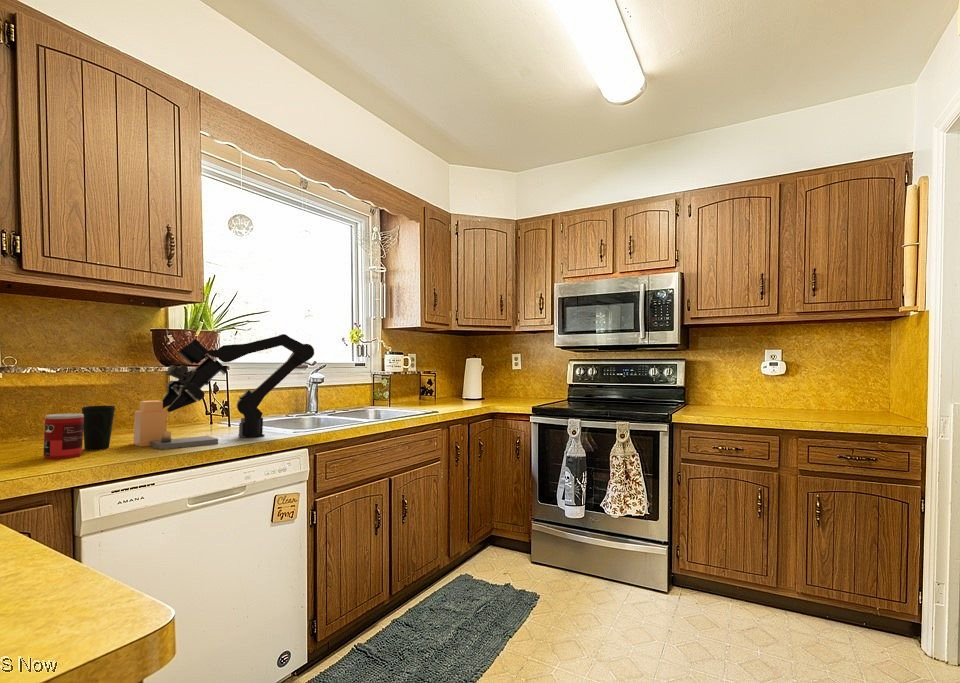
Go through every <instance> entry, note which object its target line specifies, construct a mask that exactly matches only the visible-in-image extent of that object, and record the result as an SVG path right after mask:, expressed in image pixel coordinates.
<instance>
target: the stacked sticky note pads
mask: <svg viewBox="0 0 960 683" xmlns="http://www.w3.org/2000/svg"><path fill="white" fill-rule="evenodd" d="M133 423H134V424H133V445H135V446H138V447H140V446H141V447H148V446H149V447H151V446H150V441H154V440H161V438H162V432H163V431H168V430H167V429H168V428H167V427H168V426H167V425H168V411H167V410H164V408H163V401H162V400H159V399H158V400H156V399H155V400H140V401H139V410H134V422H133Z"/></svg>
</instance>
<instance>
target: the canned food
mask: <svg viewBox="0 0 960 683" xmlns="http://www.w3.org/2000/svg"><path fill="white" fill-rule="evenodd" d="M83 424H84V414H82V413H77V412H75V413H74V412H73V413H72V412H71V413H53V414H52V413H51V414H46V415H45V418H44V434H43V453H42V454H43V458H44V459H46V460H67V459H72V458H73V459H74V458H78V457H80V456H82V453H83V444H84V432H83Z"/></svg>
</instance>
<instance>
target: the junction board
mask: <svg viewBox="0 0 960 683" xmlns="http://www.w3.org/2000/svg"><path fill="white" fill-rule="evenodd" d="M218 444H219V439H218V437H213V436H210V435H201V436H200V435H199V436H191V437H180V438H179V437H177V438H172V431H171V430H166V431H163V432H162V438H161V440H154V441H150V446H149V447H152V448H154V449H155V450H158V449H159V451H161V449H164V450H170V449H169V448H173V449H179V448H178V447H183V448H190V446H193V447H202V446H210V445H211V446H212V445H218Z"/></svg>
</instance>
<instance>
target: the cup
mask: <svg viewBox="0 0 960 683" xmlns="http://www.w3.org/2000/svg"><path fill="white" fill-rule="evenodd" d="M115 410H116V406H115V405H88V406H83V407H82V408H81V412H82V413H81V414H84V424H83V444H84V451H101V450H100V449H103V450H108V449H109V448H110V442H111V438H112V430H113V423H114V418H115ZM107 448H108V449H107Z"/></svg>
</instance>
